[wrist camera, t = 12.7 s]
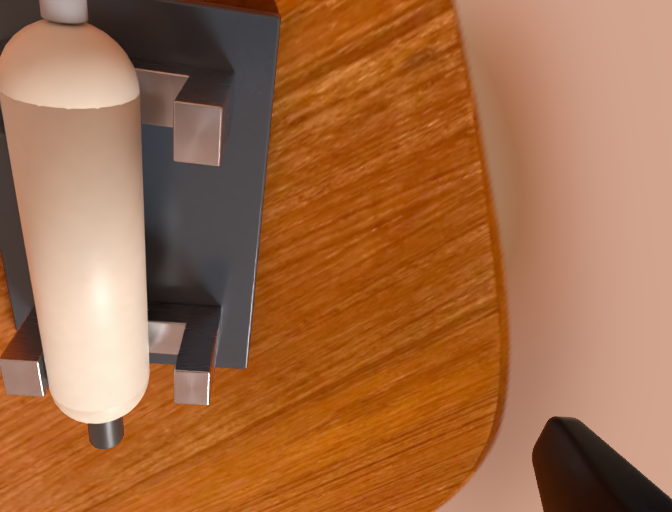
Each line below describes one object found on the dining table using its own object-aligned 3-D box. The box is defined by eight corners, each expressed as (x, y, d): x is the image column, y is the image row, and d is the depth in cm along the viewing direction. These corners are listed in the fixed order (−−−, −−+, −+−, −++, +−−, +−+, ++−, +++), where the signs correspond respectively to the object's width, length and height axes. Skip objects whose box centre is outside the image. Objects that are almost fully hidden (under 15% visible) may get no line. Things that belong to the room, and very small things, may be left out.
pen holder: (-43, -39, 15) (-153, -23, 11) (281, 12, 16) (278, 42, 13) (28, 342, 22) (-24, 427, 19) (248, 357, 24) (240, 439, 20)
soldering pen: (167, 418, 22) (120, 485, 19) (95, 394, 22) (39, 457, 19) (159, -171, 12) (60, -205, 9) (30, -192, 12) (-102, -233, 9)
